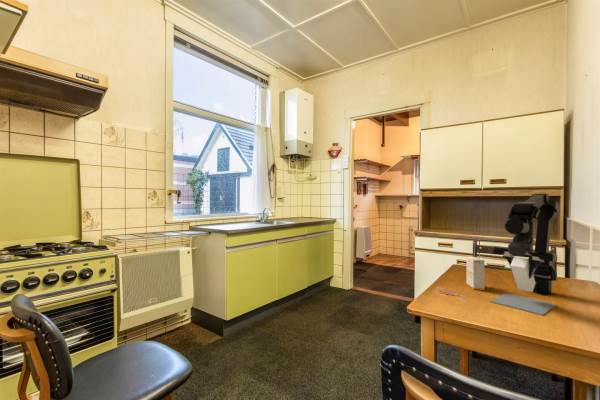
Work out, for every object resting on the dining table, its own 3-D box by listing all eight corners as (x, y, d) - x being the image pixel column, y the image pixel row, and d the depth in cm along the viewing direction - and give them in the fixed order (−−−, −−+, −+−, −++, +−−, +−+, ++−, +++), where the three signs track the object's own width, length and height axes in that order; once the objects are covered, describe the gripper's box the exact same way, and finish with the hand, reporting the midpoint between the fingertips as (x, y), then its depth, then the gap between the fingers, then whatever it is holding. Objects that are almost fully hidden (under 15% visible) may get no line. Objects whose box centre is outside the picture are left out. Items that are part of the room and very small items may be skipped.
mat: (506, 293, 119) (506, 292, 119) (556, 305, 106) (556, 304, 106) (490, 301, 110) (490, 300, 110) (542, 315, 97) (542, 314, 97)
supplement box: (485, 290, 124) (485, 260, 124) (473, 289, 125) (473, 259, 125) (477, 284, 132) (477, 256, 132) (466, 284, 133) (466, 256, 133)
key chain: (432, 294, 120) (432, 292, 120) (441, 290, 124) (441, 288, 124) (464, 303, 110) (464, 300, 110) (473, 299, 114) (473, 296, 114)
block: (521, 280, 113) (513, 257, 109) (535, 283, 110) (528, 259, 105) (518, 288, 111) (510, 265, 107) (532, 291, 107) (524, 267, 103)
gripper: (487, 232, 112) (485, 272, 110) (548, 237, 96) (547, 283, 95) (498, 233, 118) (497, 271, 117) (558, 238, 103) (556, 282, 102)
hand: (522, 276), depth 107 cm, fingers closed on block, 4 cm apart
